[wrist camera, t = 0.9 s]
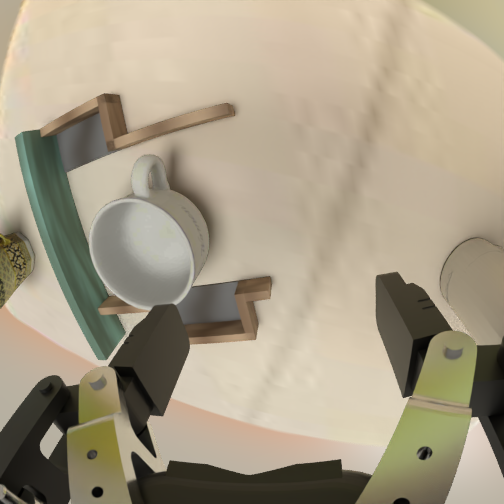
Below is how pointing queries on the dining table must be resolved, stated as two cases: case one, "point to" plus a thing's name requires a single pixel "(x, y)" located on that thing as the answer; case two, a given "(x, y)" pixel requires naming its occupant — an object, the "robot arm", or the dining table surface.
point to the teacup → (149, 240)
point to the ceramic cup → (14, 263)
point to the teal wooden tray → (75, 244)
